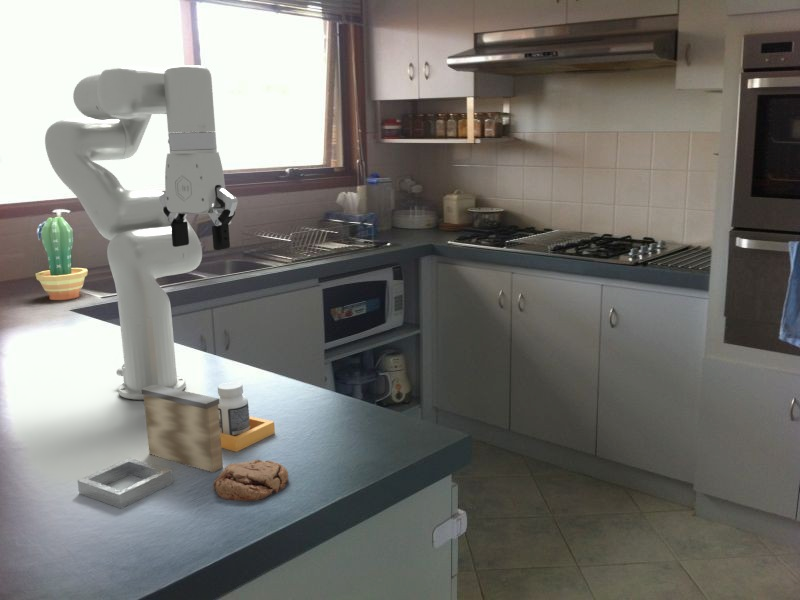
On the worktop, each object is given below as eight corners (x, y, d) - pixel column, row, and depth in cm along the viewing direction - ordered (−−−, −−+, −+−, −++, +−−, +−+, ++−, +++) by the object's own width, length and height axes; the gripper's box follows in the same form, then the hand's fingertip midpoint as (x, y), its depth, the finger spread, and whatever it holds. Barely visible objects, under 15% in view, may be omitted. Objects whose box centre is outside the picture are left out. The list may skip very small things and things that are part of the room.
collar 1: (79, 493, 112) (77, 480, 112) (131, 470, 119) (130, 457, 119) (121, 508, 107) (119, 494, 107) (172, 483, 115) (171, 470, 114)
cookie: (303, 484, 114) (302, 464, 113) (242, 511, 106) (241, 490, 106) (259, 465, 121) (258, 447, 120) (200, 490, 113) (198, 470, 112)
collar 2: (196, 441, 130) (195, 429, 130) (235, 423, 137) (234, 412, 137) (236, 451, 125) (235, 439, 125) (274, 433, 133) (274, 421, 132)
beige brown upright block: (147, 454, 125) (141, 389, 123) (160, 449, 127) (154, 384, 125) (211, 473, 118) (206, 403, 115) (224, 467, 120) (219, 398, 117)
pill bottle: (256, 432, 133) (252, 381, 132) (241, 443, 128) (237, 391, 127) (227, 429, 135) (223, 379, 133) (212, 441, 130) (207, 389, 128)
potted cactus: (81, 290, 261) (72, 213, 256) (97, 296, 249) (89, 216, 244) (31, 297, 251) (21, 218, 246) (46, 304, 240) (36, 221, 234)
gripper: (139, 145, 132) (148, 247, 136) (214, 144, 123) (222, 253, 127) (174, 144, 139) (182, 241, 142) (247, 142, 129) (254, 247, 133)
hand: (201, 247), depth 134 cm, fingers open, 9 cm apart
